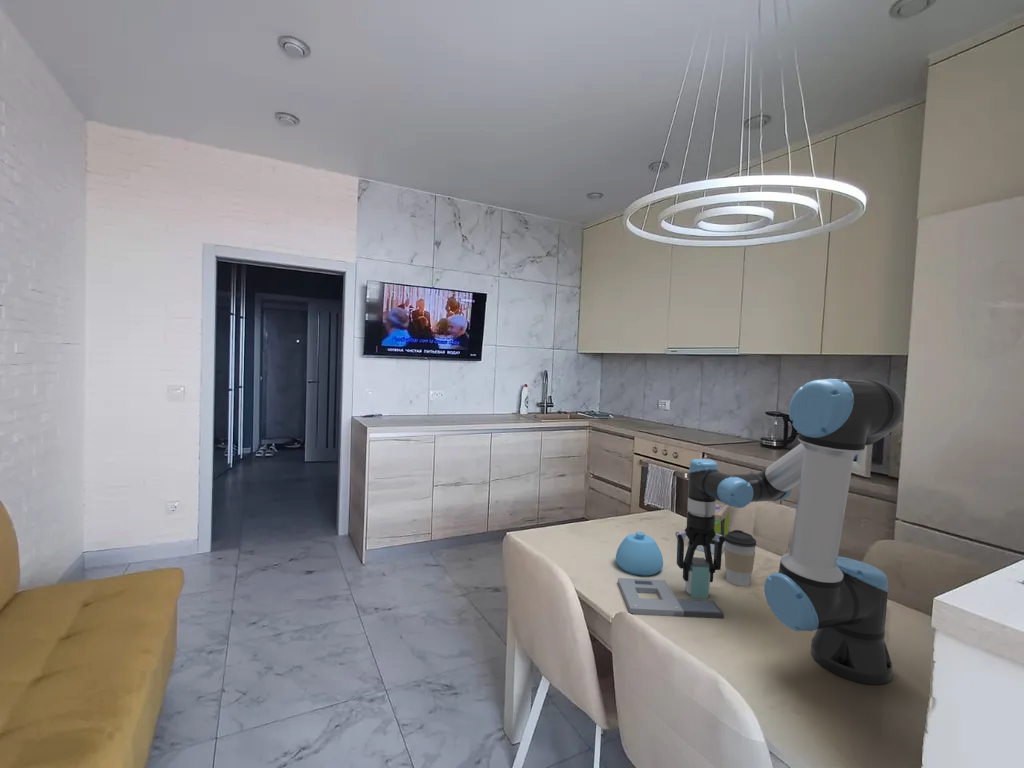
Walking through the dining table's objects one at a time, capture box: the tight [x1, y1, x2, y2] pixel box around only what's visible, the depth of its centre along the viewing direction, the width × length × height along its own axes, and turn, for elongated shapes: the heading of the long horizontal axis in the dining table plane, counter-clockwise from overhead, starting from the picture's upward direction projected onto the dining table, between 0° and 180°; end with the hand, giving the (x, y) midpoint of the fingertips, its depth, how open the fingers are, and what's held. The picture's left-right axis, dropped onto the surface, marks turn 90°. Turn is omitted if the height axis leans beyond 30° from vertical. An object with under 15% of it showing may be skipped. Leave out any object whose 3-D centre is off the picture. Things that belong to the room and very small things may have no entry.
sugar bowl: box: [615, 531, 664, 577], centre depth 157 cm, size 15×15×12 cm
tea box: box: [695, 503, 731, 555], centre depth 177 cm, size 15×10×15 cm, turn 144°
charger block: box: [689, 556, 709, 599], centre depth 140 cm, size 4×4×10 cm
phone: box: [674, 598, 725, 619], centre depth 131 cm, size 7×13×1 cm, turn 88°
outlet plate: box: [617, 577, 684, 617], centre depth 136 cm, size 18×14×2 cm
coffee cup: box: [724, 529, 757, 587], centre depth 149 cm, size 9×9×15 cm
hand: (697, 591), depth 140 cm, fingers closed on charger block, 4 cm apart
